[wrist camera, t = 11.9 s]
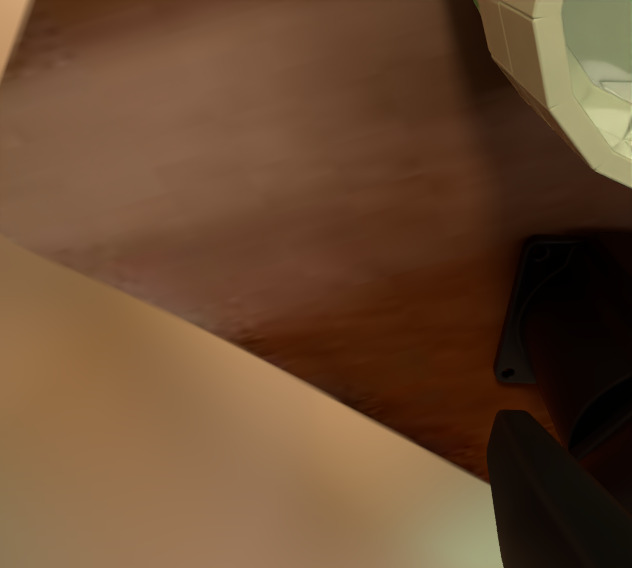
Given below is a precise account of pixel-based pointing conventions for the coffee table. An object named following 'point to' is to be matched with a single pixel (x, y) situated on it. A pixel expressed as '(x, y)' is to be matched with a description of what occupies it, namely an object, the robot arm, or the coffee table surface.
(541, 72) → the bowl
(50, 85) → the coffee table surface
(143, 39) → the coffee table surface
